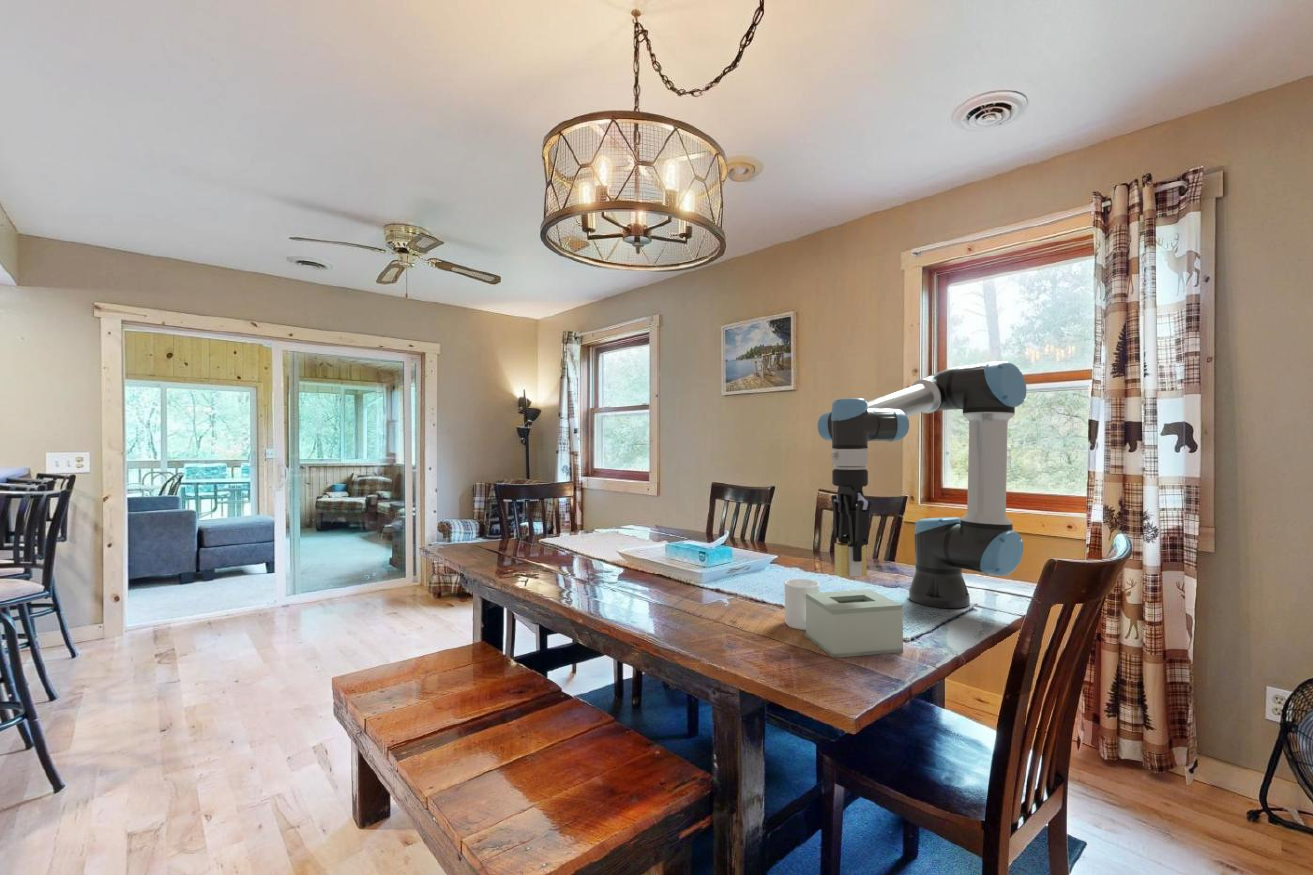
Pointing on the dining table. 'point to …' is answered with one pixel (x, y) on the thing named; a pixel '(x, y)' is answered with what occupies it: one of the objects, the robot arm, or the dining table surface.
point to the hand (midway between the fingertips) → (850, 573)
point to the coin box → (854, 623)
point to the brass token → (847, 560)
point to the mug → (798, 601)
